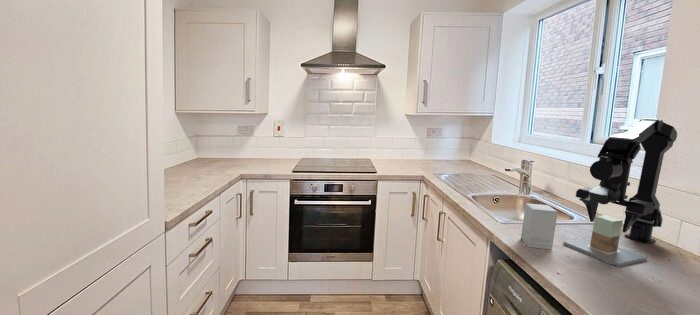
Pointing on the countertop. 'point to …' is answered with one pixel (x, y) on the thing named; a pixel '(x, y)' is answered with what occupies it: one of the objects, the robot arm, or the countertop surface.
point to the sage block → (607, 226)
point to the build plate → (614, 258)
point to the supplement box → (539, 226)
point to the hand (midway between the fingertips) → (607, 226)
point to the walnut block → (604, 242)
